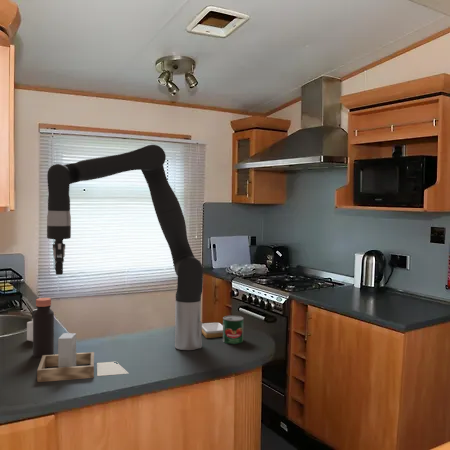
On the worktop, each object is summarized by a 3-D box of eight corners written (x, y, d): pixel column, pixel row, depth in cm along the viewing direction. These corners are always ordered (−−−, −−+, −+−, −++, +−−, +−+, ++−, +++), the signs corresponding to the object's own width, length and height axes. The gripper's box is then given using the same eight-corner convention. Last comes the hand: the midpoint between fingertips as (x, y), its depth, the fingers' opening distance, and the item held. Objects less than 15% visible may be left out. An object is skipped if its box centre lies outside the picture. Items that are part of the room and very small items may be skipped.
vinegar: (54, 352, 164) (55, 296, 164) (52, 358, 158) (52, 300, 157) (34, 353, 163) (34, 297, 162) (31, 359, 156) (31, 301, 155)
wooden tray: (93, 363, 153) (94, 352, 153) (93, 379, 140) (93, 366, 140) (42, 367, 149) (42, 355, 149) (37, 383, 136) (37, 370, 135)
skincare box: (62, 369, 147) (63, 332, 147) (76, 369, 148) (76, 332, 147) (57, 376, 141) (57, 338, 141) (71, 376, 142) (72, 338, 141)
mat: (133, 362, 156) (133, 360, 156) (136, 374, 144) (136, 372, 144) (97, 364, 153) (97, 362, 153) (97, 377, 141) (97, 375, 141)
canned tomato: (236, 342, 181) (236, 314, 181) (247, 347, 175) (247, 318, 174) (218, 345, 177) (219, 316, 177) (229, 350, 170) (229, 321, 170)
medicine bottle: (54, 339, 181) (54, 308, 180) (38, 343, 175) (38, 312, 174) (42, 336, 184) (42, 306, 184) (26, 340, 178) (26, 309, 178)
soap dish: (197, 335, 191) (197, 323, 191) (220, 333, 194) (220, 321, 193) (205, 343, 179) (205, 331, 179) (229, 342, 182) (229, 329, 182)
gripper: (71, 225, 149) (71, 275, 149) (69, 223, 162) (69, 269, 163) (47, 225, 146) (47, 276, 147) (46, 223, 159) (46, 270, 160)
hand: (58, 272), depth 155 cm, fingers open, 8 cm apart
